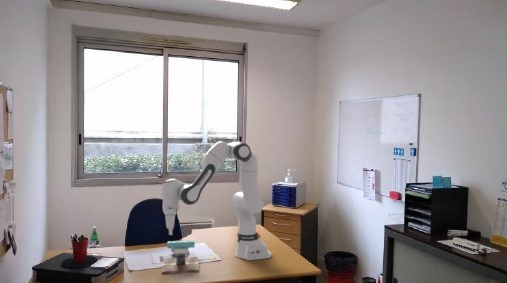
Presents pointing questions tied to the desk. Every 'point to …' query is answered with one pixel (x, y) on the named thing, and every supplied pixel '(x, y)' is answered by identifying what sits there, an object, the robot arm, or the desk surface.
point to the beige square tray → (180, 265)
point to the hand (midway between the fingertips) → (171, 231)
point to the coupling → (181, 247)
